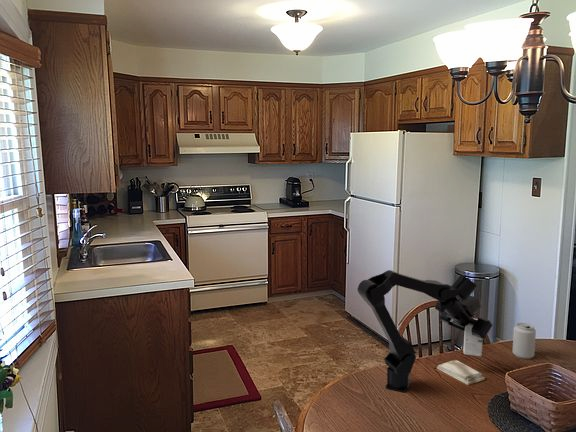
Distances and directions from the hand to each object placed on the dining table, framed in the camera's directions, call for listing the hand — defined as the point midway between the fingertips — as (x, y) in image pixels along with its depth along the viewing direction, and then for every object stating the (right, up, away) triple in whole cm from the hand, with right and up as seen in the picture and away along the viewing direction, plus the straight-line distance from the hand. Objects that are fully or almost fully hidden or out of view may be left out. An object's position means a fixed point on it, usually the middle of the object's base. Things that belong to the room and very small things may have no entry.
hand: (476, 334), depth 170 cm
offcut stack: (-6, -13, -2) cm, 15 cm away
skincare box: (-1, -7, 0) cm, 7 cm away
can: (+23, -11, +12) cm, 28 cm away
